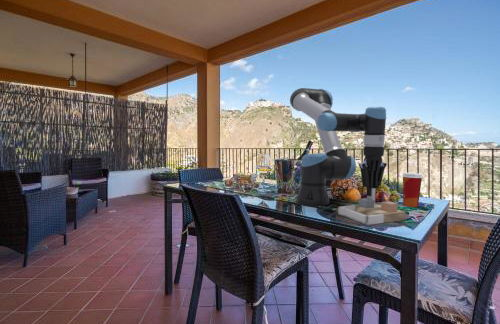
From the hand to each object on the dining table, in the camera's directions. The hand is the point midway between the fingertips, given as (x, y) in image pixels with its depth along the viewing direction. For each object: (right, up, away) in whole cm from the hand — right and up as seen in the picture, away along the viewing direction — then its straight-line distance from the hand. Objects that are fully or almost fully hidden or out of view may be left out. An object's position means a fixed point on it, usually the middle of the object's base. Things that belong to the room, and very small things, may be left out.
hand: (370, 203), depth 110 cm
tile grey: (-2, -1, -1) cm, 3 cm away
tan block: (+4, -2, -7) cm, 8 cm away
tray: (-7, -5, -7) cm, 11 cm away
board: (+1, -4, -4) cm, 6 cm away
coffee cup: (+25, -3, +15) cm, 29 cm away
